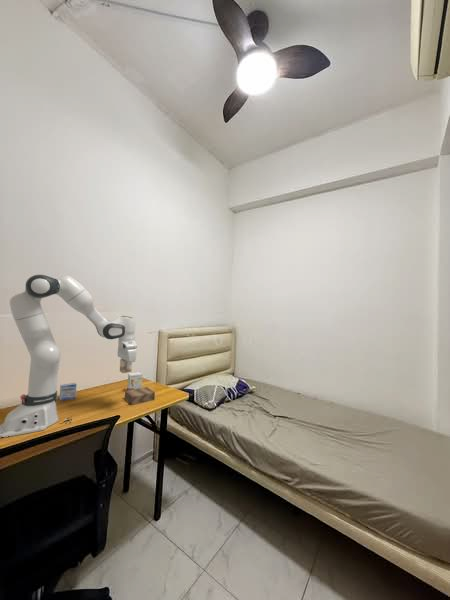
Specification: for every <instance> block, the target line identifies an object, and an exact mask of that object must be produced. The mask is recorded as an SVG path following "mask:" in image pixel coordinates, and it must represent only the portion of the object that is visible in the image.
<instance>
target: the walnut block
mask: <svg viewBox="0 0 450 600" xmlns="http://www.w3.org/2000/svg"><path fill="white" fill-rule="evenodd" d="M155 395H156V392H155V391H154V390H152V389H150V388H149V387H148V386H144V387H142V388H139V389H134V390H129V391H127V390H125V391H124V400H125V401H127V402H128V403H129V404H130V405H131V406H135V405H139V404H143V403H147V402H151V401H155V399H156V398H155Z"/></svg>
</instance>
